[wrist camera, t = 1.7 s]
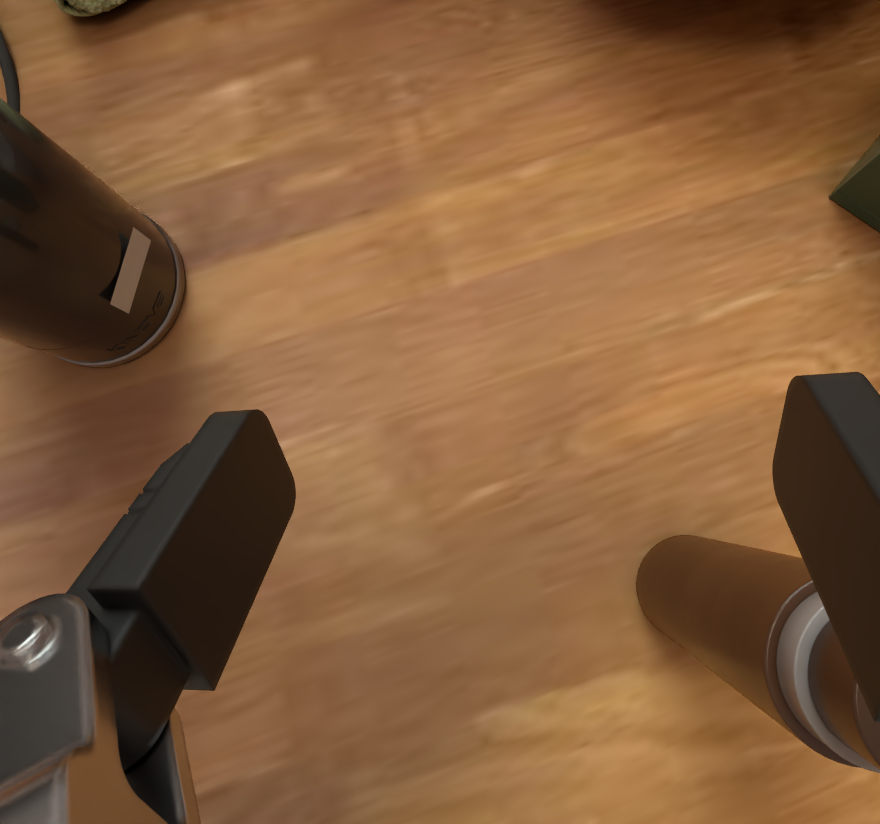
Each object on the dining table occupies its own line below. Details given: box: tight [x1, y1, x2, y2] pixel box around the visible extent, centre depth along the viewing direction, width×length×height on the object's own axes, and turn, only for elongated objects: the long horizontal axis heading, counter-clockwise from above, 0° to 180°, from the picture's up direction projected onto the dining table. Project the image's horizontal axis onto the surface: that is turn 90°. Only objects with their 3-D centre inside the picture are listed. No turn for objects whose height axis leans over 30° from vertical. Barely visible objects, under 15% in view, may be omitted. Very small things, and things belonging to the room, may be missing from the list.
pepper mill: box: [636, 535, 880, 773], centre depth 21 cm, size 5×5×18 cm
